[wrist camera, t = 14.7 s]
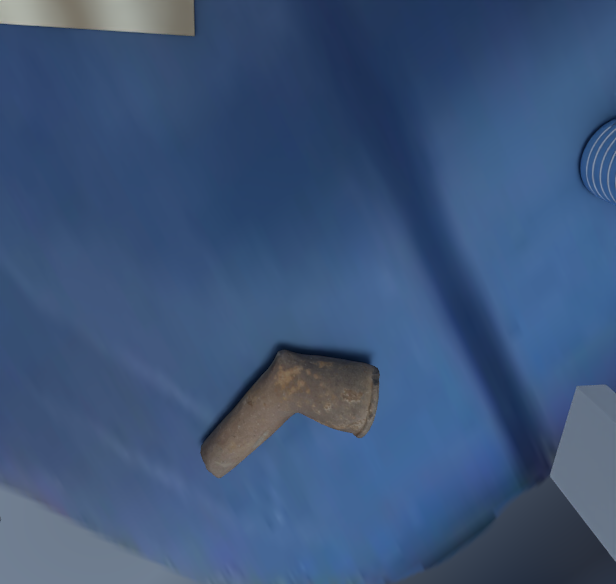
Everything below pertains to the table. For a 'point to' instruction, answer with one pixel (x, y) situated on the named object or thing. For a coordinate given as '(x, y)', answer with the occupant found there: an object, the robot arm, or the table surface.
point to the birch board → (103, 15)
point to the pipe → (294, 404)
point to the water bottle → (601, 163)
